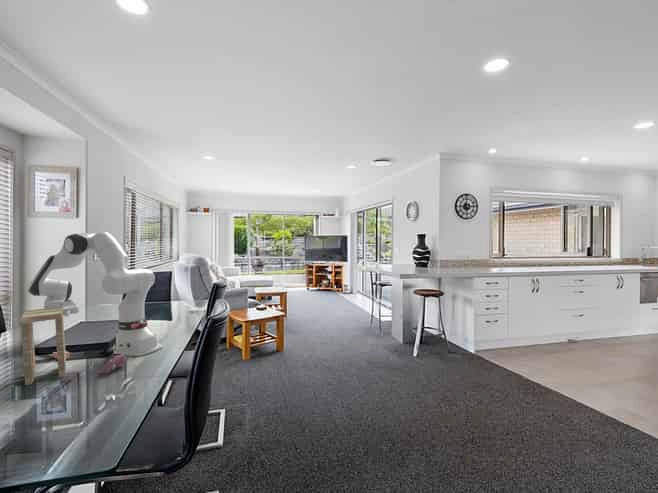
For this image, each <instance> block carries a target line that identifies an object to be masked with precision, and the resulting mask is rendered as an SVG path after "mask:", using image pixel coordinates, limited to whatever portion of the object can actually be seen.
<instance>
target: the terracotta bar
mask: <svg viewBox="0 0 658 493" xmlns="http://www.w3.org/2000/svg"><path fill="white" fill-rule="evenodd" d="M65 354H66V360H68V359H69V358H70V351H67V350H65ZM51 356H53V357H55V358H54V359H57V358H58V355H57V352H53V353H52V354H51ZM53 357H52V358H53Z"/></svg>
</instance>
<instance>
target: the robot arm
mask: <svg viewBox="0 0 658 493" xmlns="http://www.w3.org/2000/svg"><path fill="white" fill-rule="evenodd" d="M94 254H96V255H97V258H98V259H99V261H100V262H101V263H102V265H103V267H104V270H105V275H104V276H103V279H102V280H101V288H102V290H103V291H104V293H105V294H107V295H125V297H124V299H123V300H122V301H121V302H120V303H119V304H118V308H117V309H118V310H117V311H118V312H117V313H118V321H117V329H118V332H117V333H116V337H115V349H114V350H113V354H114V355H115V354H116V355H121V354H123V355H126V356H131V357H140V356H145V355H149V354H151V353H153V352H156V351H159V350H161V349H162V348H164V345H163V344H162V343H159V342H158V337H157V335H158V334H157V332H153V330H152V329H150V328H149V326H148V323H149V322H148V320H147V318H146V317H145V303H146V302H145V301H146V298H147V294H148V292H149V290H150V289H151V287H153V285H154V284H155V281H156V276H155V273H154V272H153V270H151V269H149V268H134V269H128V268H127V267H126V265H127V264H128V262H129V255H128V254H127V253H126V251H125V250H124V249H123V247H122V246H121V244H120V242H118V240H117V239H116V238H115V237H114V236H113V235H112V234H110V232H106V231H100V232H84V233H72V234H69V235H66V237H65V238H64V240H63V244H62V246H61V249H60V251H59V252H58V253H56V254H54V255H50V256H49V257H48V258H47V259H46V260H45V262H44V264H43V265H42V266H41V267H40V269H39V271H38V272H37V274H36V275H35V276H34V277H33V278H32V280H31V281H30V282H29V284H28V287H27V289H28V290H27V291H28V292H29V294H30V295H32V296H33V297H45V299H44V302H43V309H45V308H53V307H62V306H63V317H65V318H67V317H69V316H70V315H75V314H78V313H80V310H79V305H78V304H77V302H75V300H74V299H70V298H71V296H72V292H73V286H72V283H71V282H70V281H69V280H62V279H56V278H54V279H53V278H48V277H49V274H50V273H51V272H52V271H54V270H59V269H60V270H61V269H71V268H76V267H79V266H80V265H81V264H82V263H83V262H84V260H85V259H86V255H94ZM40 322H43V321H40Z"/></svg>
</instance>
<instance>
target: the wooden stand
mask: <svg viewBox="0 0 658 493" xmlns="http://www.w3.org/2000/svg"><path fill="white" fill-rule="evenodd" d="M52 320H54V323H55V324H54V325H55V337H56V338H55V339H56V349H57V355H58V359H57V367H58V368H57V370H58V379H60V378H65V377H66V370H67V359H66V354H65V351H66V342H65V341H66V340H65V326H64V316H63V306H62V307H53V308H45V309H44V308H38V309H31V310H25V311H24V312H23V314H22V315H21V317H20V319H19V323H20V327H21V328H20V330H21V342H22V343H21V345H22V356H23V370H24V373H23V374H24V386H29V385H32V384H33V383H34V380H35V377H36V372H37V371H36V370H37V367H36V354H35V340H34V324H33V323H38V322H41V321H42V322H47V321H52Z"/></svg>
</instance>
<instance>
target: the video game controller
mask: <svg viewBox="0 0 658 493" xmlns="http://www.w3.org/2000/svg"><path fill="white" fill-rule="evenodd" d="M127 359H128V355H123V354H116V355H114V356H113V357H112V358H111V359H109V360H108V361H107V362H106V364H104V365H103V366H101V367H100V370H99V372H100V374H106V373H107V372H108V371H111V372H113V371H112V370H114V369H115V370H116V369H119V368H121V367H122V365H123V364H124V363H125V362H126V361H127ZM118 367H119V368H118ZM115 370H114V371H115Z"/></svg>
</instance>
